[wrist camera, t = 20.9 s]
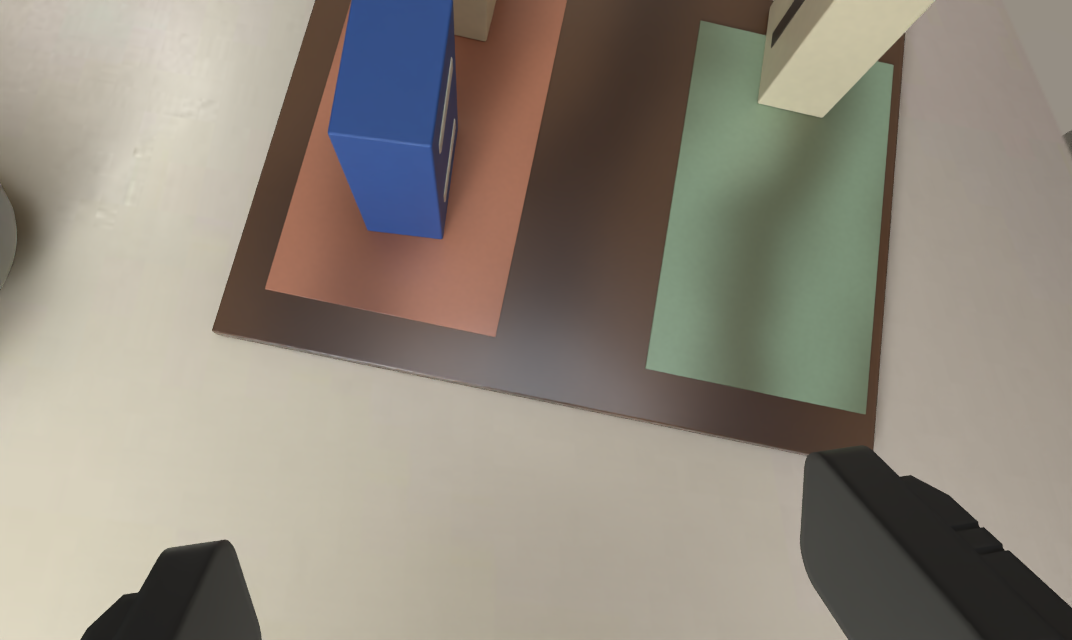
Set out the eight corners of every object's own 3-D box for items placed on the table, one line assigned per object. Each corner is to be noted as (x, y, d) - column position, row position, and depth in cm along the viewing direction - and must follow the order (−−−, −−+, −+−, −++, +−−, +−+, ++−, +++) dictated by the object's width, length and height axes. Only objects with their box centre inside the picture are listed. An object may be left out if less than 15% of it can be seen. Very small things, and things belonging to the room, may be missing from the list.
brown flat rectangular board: (898, 38, 33) (907, 29, 32) (864, 467, 28) (874, 467, 27) (348, -89, 32) (345, -102, 31) (216, 334, 27) (209, 330, 26)
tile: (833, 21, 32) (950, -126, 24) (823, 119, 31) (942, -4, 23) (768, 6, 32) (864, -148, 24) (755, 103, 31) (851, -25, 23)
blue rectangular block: (459, 126, 29) (455, -3, 21) (444, 240, 28) (433, 147, 20) (384, 116, 29) (352, -18, 21) (365, 230, 28) (324, 133, 20)
